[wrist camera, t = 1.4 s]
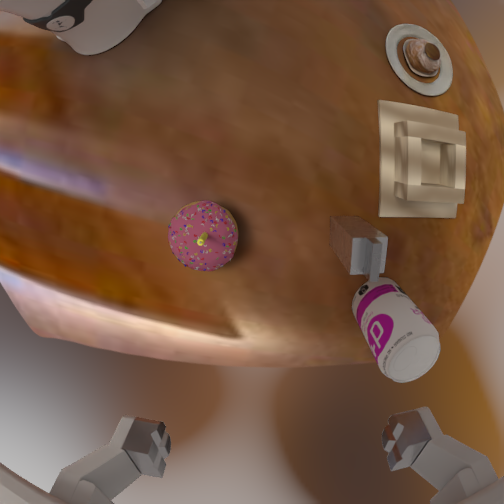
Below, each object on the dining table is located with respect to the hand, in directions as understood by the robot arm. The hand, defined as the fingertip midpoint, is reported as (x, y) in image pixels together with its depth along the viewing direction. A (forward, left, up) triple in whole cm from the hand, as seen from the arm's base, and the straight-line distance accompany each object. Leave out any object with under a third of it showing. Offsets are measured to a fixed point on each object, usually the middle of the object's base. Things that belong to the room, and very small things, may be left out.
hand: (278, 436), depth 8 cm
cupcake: (0, -8, -31) cm, 32 cm away
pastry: (-25, +23, -31) cm, 46 cm away
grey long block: (+1, +10, -31) cm, 32 cm away
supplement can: (+12, +16, -31) cm, 37 cm away
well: (-9, +22, -31) cm, 39 cm away
